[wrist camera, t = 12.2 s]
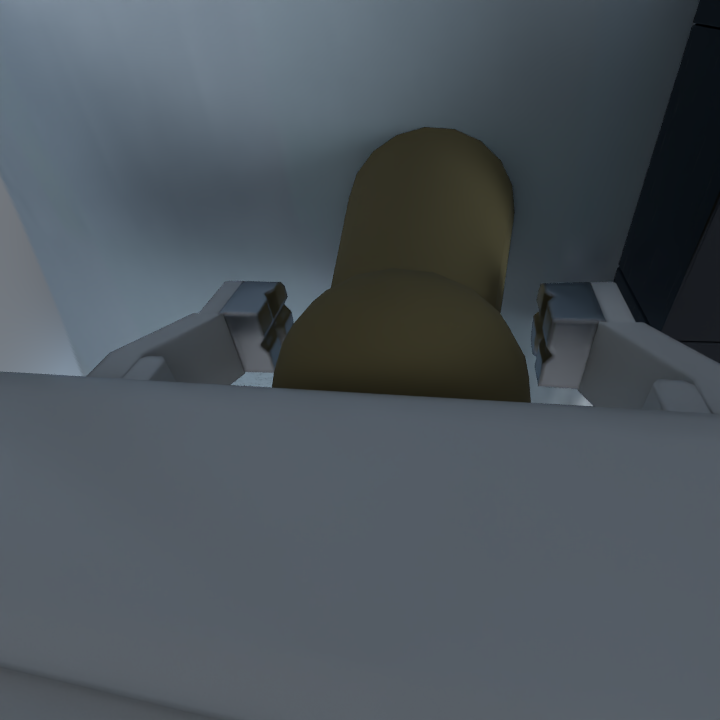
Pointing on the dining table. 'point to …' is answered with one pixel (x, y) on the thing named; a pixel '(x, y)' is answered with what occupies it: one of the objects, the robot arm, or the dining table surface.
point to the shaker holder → (682, 205)
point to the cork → (416, 280)
